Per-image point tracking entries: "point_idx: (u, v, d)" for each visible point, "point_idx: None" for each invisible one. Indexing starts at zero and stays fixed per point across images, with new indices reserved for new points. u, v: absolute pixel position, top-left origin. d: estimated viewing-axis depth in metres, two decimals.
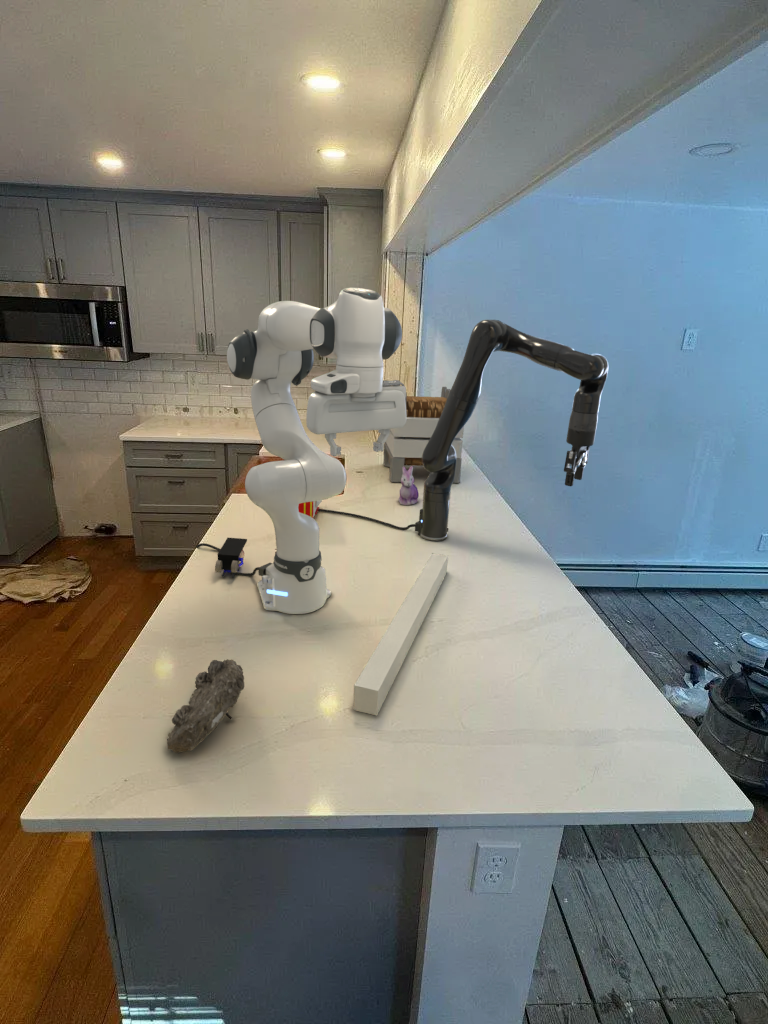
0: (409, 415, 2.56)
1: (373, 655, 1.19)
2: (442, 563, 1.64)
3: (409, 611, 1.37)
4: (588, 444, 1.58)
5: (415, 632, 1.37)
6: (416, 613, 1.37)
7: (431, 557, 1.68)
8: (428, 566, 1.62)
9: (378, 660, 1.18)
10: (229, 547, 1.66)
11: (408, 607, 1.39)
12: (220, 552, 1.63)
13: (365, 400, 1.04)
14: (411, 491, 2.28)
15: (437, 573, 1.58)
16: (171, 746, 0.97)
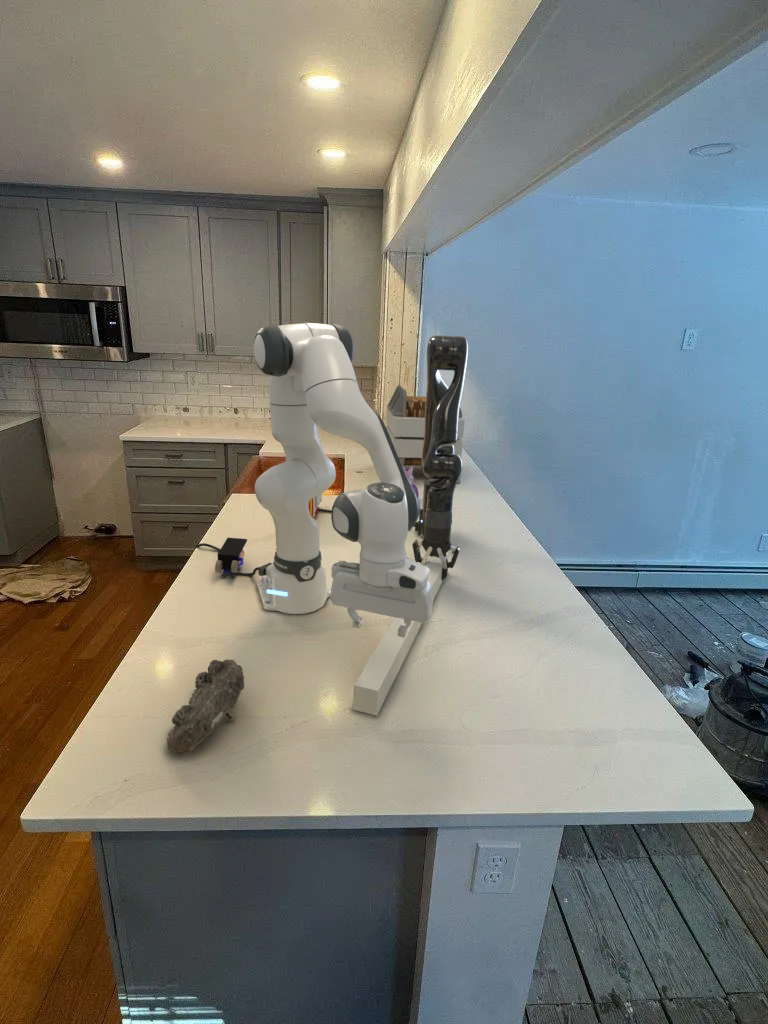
0: (409, 415, 2.56)
1: (373, 655, 1.19)
2: None
3: None
4: None
5: (415, 632, 1.37)
6: None
7: (431, 557, 1.68)
8: (428, 566, 1.62)
9: (378, 660, 1.18)
10: (229, 547, 1.66)
11: None
12: (220, 552, 1.63)
13: None
14: None
15: (437, 573, 1.58)
16: (171, 746, 0.97)
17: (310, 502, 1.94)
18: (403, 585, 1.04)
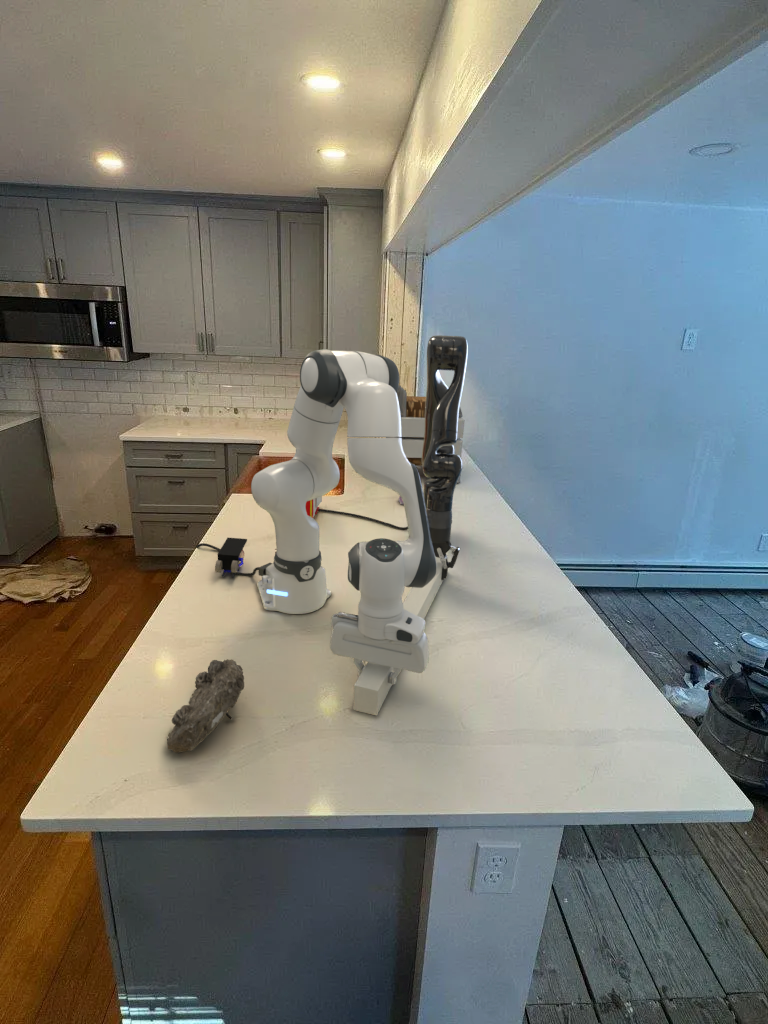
0: (409, 415, 2.56)
1: None
2: None
3: (409, 611, 1.37)
4: None
5: None
6: (416, 613, 1.37)
7: None
8: None
9: None
10: (229, 547, 1.66)
11: (408, 607, 1.39)
12: (220, 552, 1.63)
13: None
14: None
15: (437, 573, 1.58)
16: (171, 746, 0.97)
17: (310, 502, 1.94)
18: (400, 638, 1.08)
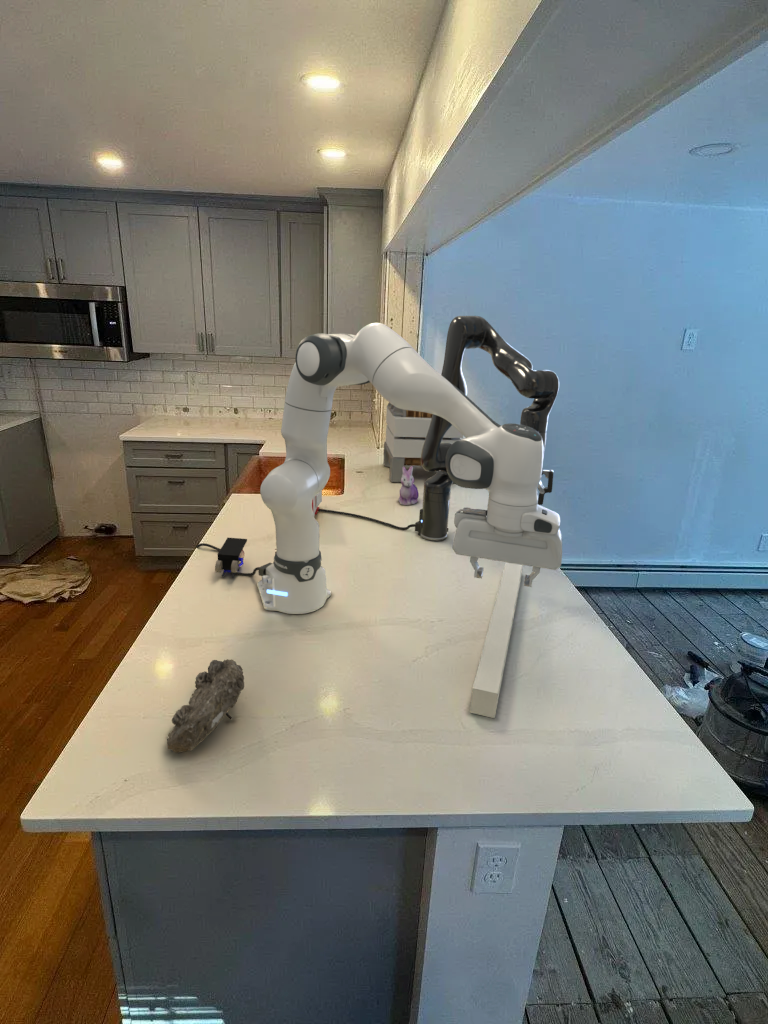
0: (409, 415, 2.56)
1: (482, 658, 1.20)
2: (520, 565, 1.65)
3: (503, 614, 1.38)
4: None
5: None
6: (511, 616, 1.37)
7: None
8: (508, 569, 1.62)
9: (489, 663, 1.18)
10: (229, 547, 1.66)
11: (501, 609, 1.40)
12: (220, 552, 1.63)
13: None
14: (411, 491, 2.28)
15: (519, 576, 1.59)
16: (171, 746, 0.97)
17: None
18: (538, 529, 1.00)
